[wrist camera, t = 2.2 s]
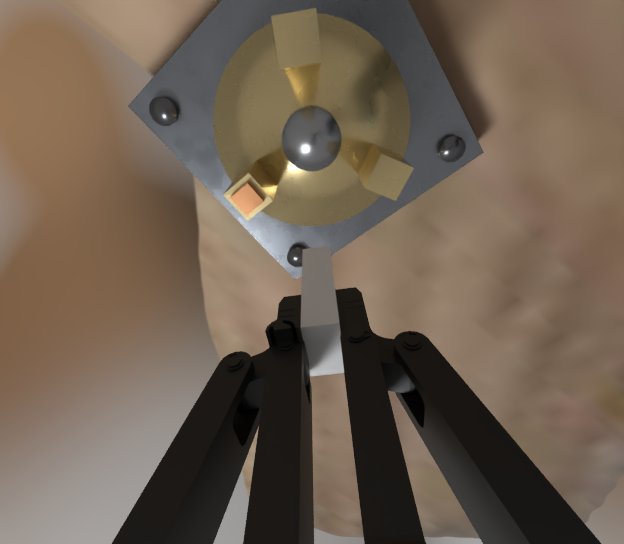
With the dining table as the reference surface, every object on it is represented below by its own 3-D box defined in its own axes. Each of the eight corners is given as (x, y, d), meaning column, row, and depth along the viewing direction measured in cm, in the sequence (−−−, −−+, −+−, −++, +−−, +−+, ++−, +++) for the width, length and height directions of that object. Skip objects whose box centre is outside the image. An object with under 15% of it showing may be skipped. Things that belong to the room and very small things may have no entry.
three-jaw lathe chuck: (330, -38, 21) (337, -77, 15) (434, 146, 26) (466, 166, 21) (183, 113, 25) (147, 125, 20) (299, 243, 31) (296, 280, 26)
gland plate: (339, -119, 21) (342, -142, 18) (473, 147, 29) (486, 154, 26) (139, 103, 27) (124, 106, 25) (295, 269, 35) (294, 282, 33)
